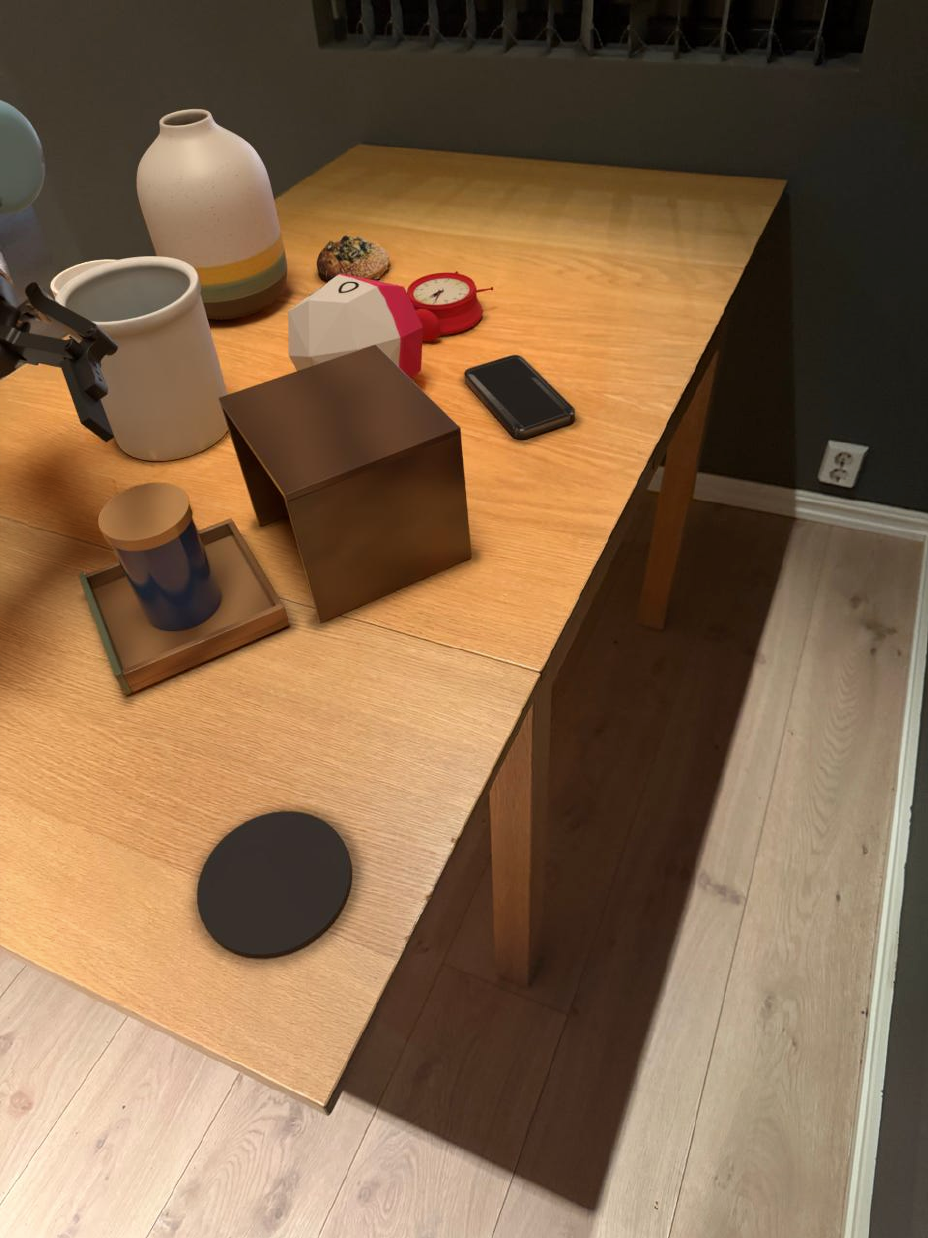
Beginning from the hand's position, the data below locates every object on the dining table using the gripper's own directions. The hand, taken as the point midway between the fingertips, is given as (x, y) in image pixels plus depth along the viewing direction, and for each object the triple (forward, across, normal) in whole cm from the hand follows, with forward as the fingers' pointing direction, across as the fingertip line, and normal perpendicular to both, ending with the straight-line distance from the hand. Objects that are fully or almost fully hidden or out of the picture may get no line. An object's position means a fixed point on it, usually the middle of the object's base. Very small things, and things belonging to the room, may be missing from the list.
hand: (23, 482), depth 64 cm
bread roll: (-55, -29, -50) cm, 80 cm away
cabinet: (0, -15, -29) cm, 33 cm away
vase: (-55, -12, -43) cm, 71 cm away
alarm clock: (-35, -34, -47) cm, 67 cm away
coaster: (+31, -1, -14) cm, 34 cm away
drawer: (+1, +1, -22) cm, 22 cm away
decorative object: (-24, -22, -39) cm, 50 cm away
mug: (-50, +3, -36) cm, 61 cm away
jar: (+1, +1, -21) cm, 21 cm away
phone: (-13, -37, -42) cm, 57 cm away
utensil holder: (-29, -1, -32) cm, 43 cm away
